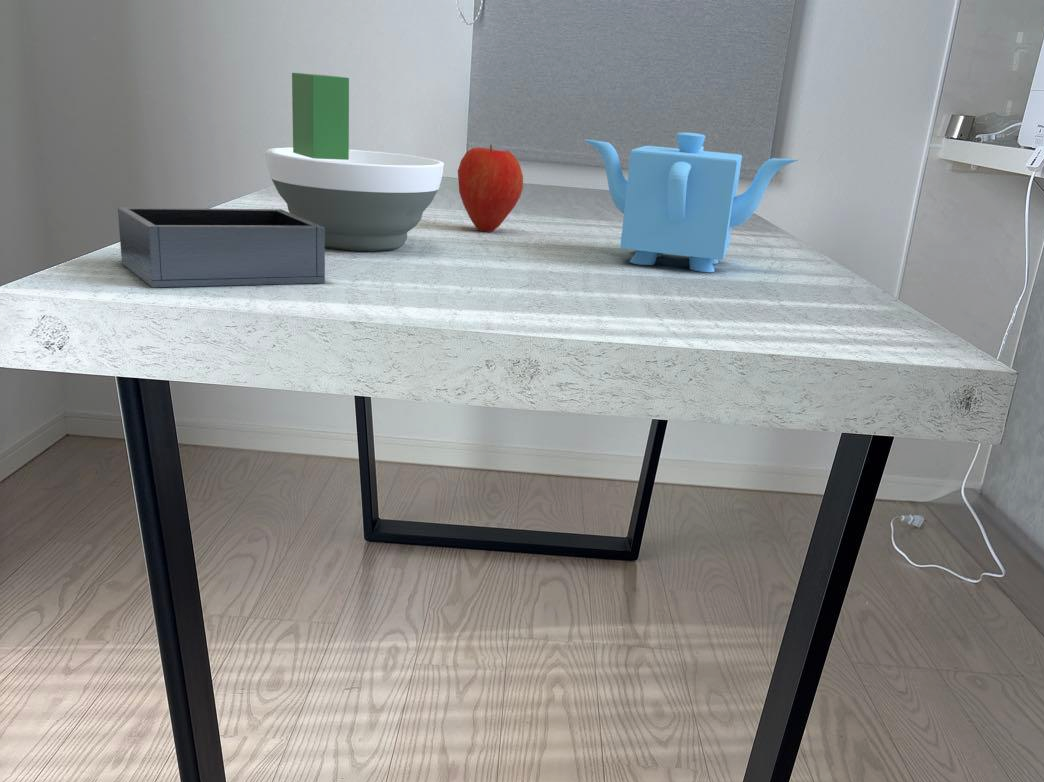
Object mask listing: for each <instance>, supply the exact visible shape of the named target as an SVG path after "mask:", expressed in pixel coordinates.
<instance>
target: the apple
mask: <svg viewBox="0 0 1044 782" xmlns="http://www.w3.org/2000/svg"><path fill="white" fill-rule="evenodd" d="M457 179H458V180H457V181H458V193H459V197H460V198H461V199H460V200H461V202H462V204H463V206H464V209H465V211H466V213H467V215H468V218H469V219H470V221H471V222H472V224H473V226H474V227H475V228H476V229H477V230H478V231H479V232H488V233H490V232H493V231H495V230H496V229H498V228H499V227H500V226H501V225H502V223H503V222H504V221H505V220H506V219H507V217H508V216H509V215H510V213H511V212H512V211H513V210H514V208H515V206H516V205H517V204H518V202H519V200H520V198H521V195H522V192H523V189H524V174H523V171H522V168H521V164H520V162H519V161H518V158H517V157H516V155H514V154H513V153H512V152H511V151H509V150H497V149H493V145H492V144H490V145H489V148H486V147H472V148H471V149H469V150H468V151H466V152H465V153H464V155H463V157H462V158H461V160H460V162H459V166H458V169H457Z"/></svg>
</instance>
